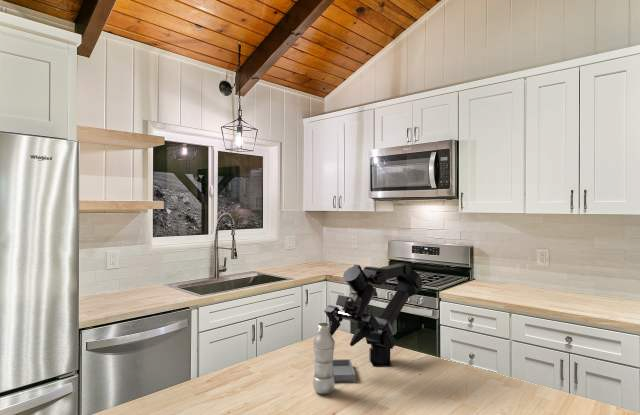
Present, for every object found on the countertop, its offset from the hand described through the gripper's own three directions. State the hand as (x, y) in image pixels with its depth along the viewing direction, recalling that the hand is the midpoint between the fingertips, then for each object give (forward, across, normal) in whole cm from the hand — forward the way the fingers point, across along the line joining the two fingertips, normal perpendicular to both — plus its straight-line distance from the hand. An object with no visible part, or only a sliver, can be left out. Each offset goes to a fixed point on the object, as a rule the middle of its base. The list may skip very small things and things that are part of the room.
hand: (339, 341), depth 125 cm
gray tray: (+6, -6, +13) cm, 15 cm away
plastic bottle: (+14, 0, +5) cm, 15 cm away
